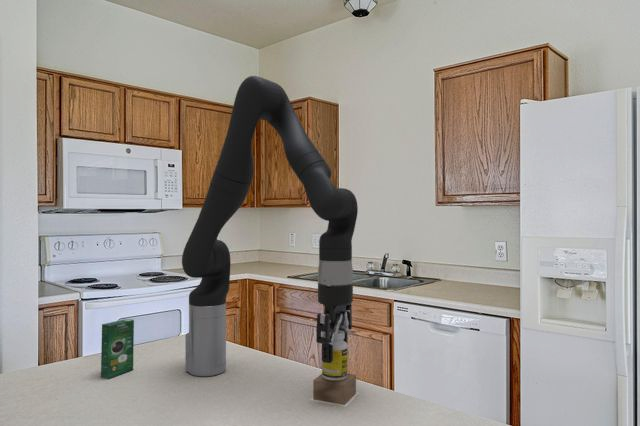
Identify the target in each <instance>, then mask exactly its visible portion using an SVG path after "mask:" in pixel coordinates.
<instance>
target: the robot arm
mask: <svg viewBox="0 0 640 426" xmlns="http://www.w3.org/2000/svg"><path fill="white" fill-rule="evenodd" d="M231 111H232V112H231V115H230V120H229V124H228V126H227V127H228V129H227V132H226V136H225V139H224V142H223V144H222V148H221V152H220V154H219V158H218V160H217V163H216V165H215V168H214V170H213V171H214V172H213V174H212V177H211V180H210V183H209V187H208V190H207V193H206V196H205V199H204V201H203V204H202V206H201V209H200V212H199V214H198V218H197V220H196V222H195V224H194V227H193V229H192V231H191V233H190V235H189V237H188V239H187V242H186V243H185V246H184V248H183V252H182V255H181V266H182V269H183V271H184V273H185V274H186V275H187V276H188V277H189V278H193V279H194V278H195V279H200V278H201V280H200V283H199V284H198V285H197V286H196V287H195V288H194V289H193V290H192V291H190V292H189V295H188V332H187V333H186V334H185V368H184V370H185V372H188V373H189V374H190V375H192V376H197V377H212V376H213V377H214V376H216V375H219V374H220V375H221V374H223V373H224V372H226V371H227V296H228V294H229V290H230V281H231V280H230V279H231V252H230V250H229V247H228V245H227V244H226V243H225V242H224V241H223V240H220V239H218V237H219V235H220V234H221V232H222V231H221V230H222V229H223V228H224V226H225V225H226V223H227V222H228V221H229V220H230V219H231V218H232V217H233V216H234V215H235V213H236V212H237V211H238V210H239V209H240V208H241V206H242V205H243V204H244V203H245V200H246V198H247V196H248V193H249V190H250V187H251V186H252V185H251V184H252V182H253V178H254V175H255V174H254V173H255V172H254V171H255V169H254V157H253V149H252V147H253V139H254V135H255V132H256V128H257V125H258V124H259V121H260V120H261V121H266V122H267V124H269V125H270V126H271V127H272V128H273V129H274V130H275V131H276V132H277V134H278V135H279V138H280V139H281V141H282V144H283V145H282V146H283V150H284V154H285V157H286V158H285V159H286V160H287V163H288V164H289V167H291V169H292V171H293V172H294V174H295V175H296V177H297V178H298V180H299V181H300V183H301V184H302V186H303V189H304V191H305V195H306V196H307V200H308V202H309V205H310V207H311V209H312V211H313V212H314V213H315V214H316V215H317V216H318V217H319V218H320V219H322V220H324V221H327V222H328V223H327V228H326V229H327V230H325V232H324V233H321V235H320V236H319V240H318V243H319V244H318V249H319V250H318V251H319V252H318V268H317V269H318V270H317V302H318V303H319V304H321V305H323V306H324V311H323V312H322V313H320V312H318V313H317V314H316V341H315V342H316V343H318V344H321V362H322V361H323V362H325V363H331V362H332V361H333V340H334V336H335V335H337V333H338V330H342V331H344V332H345V337H344V339H343V341H345V342H346V343H347V346H348V343H349V341H348V339H349V338H348V335H349V334H350V330H352V328H353V310H352V307H353V305H352V303H353V301H354V268H353V261H352V259H353V248H352V247H353V245H352V243H353V242H352V241H353V236H354V233H355V228H356V224H357V223H356V222H357V218H358V212H359V211H358V207H359V206H358V200H357V198H356V195H355V194H354V193H353V192H352V191H351V190H350V189H348V188H342V187H335V185H334V184H333V183H332V181H331V179H330V178H331V177H332V171H331V168H330V166H329V164H328V163H327V162H326V160H325V159H324V157H323V156H322V154H321V153H320V152H319V150H318V148H317V147H316V146H315V145H314V143H313V142H312V140H311V138H310V137H309V135H308V134H307V132H306V131H305V129H304V127H303V125H302V123H301V121H300V119H299V117H298V115H297V114H296V111H295V110H294V107H293V105H292V103H291V101H290V98H289V96H288V95H287V93H286V91H285V89H284V88H283V87H282V86H281V85H280V84H278V83H277V82H275V81H272V80H269V79H267V78H264V77H261V76H258V75H250V76H248V77H246V78H245V79H244V80H243V81H242V82H241V83H240V85H239V87H238V89H237V92H236V95H235V98H234V102H233V107H232V110H231Z"/></svg>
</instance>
